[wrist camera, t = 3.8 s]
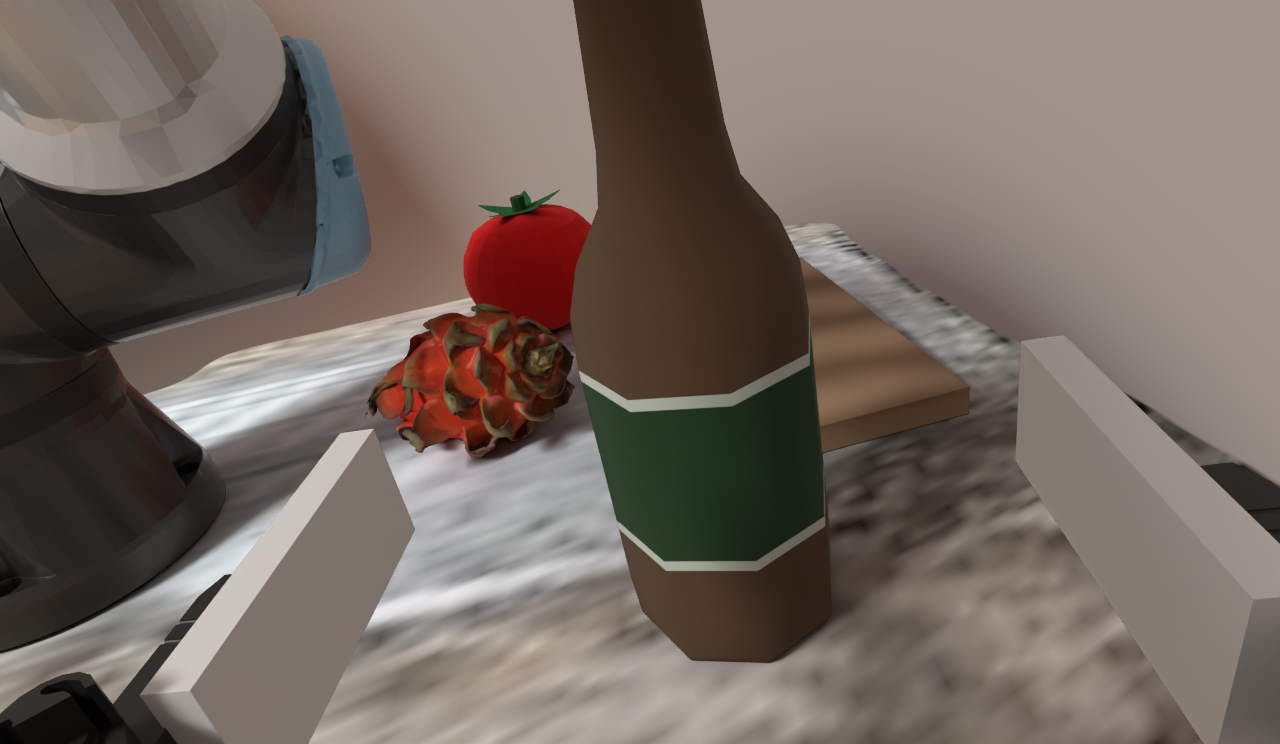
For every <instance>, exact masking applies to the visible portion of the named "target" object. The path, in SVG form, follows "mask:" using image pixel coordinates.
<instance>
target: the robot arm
mask: <svg viewBox="0 0 1280 744" xmlns="http://www.w3.org/2000/svg"><path fill="white" fill-rule="evenodd" d="M370 252H371V235H370V228H369V222H368V217H367V211H366V207H365V202H364V198H363V193H362V189H361V185H360V181H359V176H358V173H357V170H356V167H355V165H354V164H353V154H352V151H351V147H350V142H349V136H348V132H347V128H346V125H345V121H344V117H343V114H342V110H341V107H340V104H339V100H338V97H337V93H336V90H335V87H334V84H333V81H332V77H331V74H330V72H329V69H328V66H327V63H326V60H325V58H324V56H323V54H322V51H321V49H320V48H319V47H318V45H317V44H315V43H314V42H313V41H312V40H309V39H306V38H292V37H290V36H287V35H286V36H284V37H279V36H278V33H277V31H276V30H275V28H274V27H273V25H272V23H271V22H270V20H269V19H268V18H267V16H266V15H265V14H264V12H263V11H262V10H261V8H259V7H258V6H257V5H256V4H255V3H254V2H253V1H251V0H0V651H1V650H5V649H8V648H12V647H15V646H18V645H21V644H24V643H27V642H30V641H33V640H35V639H38V638H40V637H43V636H46V635H48V634H51V633H53V632H55V631H58V630H60V629H62V628H64V627H67V626H69V625H71V624H73V623H75V622H77V621H79V620H81V619H83V618H85V617H88V616H89V615H91V614H93V613H95V612H97V611H99V610H101V609H103V608H104V607H106V606H108V605H110V604H112V603H113V602H115V601H117V600H118V599H120V598H122V597H123V596H125V595H127V594H128V593H130V592H131V591H133V590H135V589H136V588H138V587H139V586H141V585H142V584H144V583H145V582H147V581H148V580H150V579H151V578H152V577H154V576H155V575H156V574H158V573H159V572H161V571H162V570H163V569H164V568H166V567H167V566H168V565H170V564H171V563H172V562H173V561H175V560H176V559H177V558H178V557H179V556H180V555H182V554H183V553H184V552H185V551H186V550H187V549H188V548H189V547H190V546H191V545H192V544H193V543H194V542H195V541H196V540H197V539H198V538H199V537H200V536H201V535H202V534H203V533H204V532H205V530H206V529H207V528H208V527H209V526H210V524H211V523H212V522H213V520H214V519H215V517H216V516H217V514H218V512H219V510H220V508H221V506H222V504H223V501H224V498H225V484H224V482H223V480H222V478H221V476H220V474H219V472H218V470H217V468H216V467H215V465H214V463H213V461H212V459H211V457H210V456H209V454H208V453H207V452H206V450H205V449H204V448H203V447H202V446H201V445H200V444H199V443H198V442H196V441H195V440H194V439H193V438H192V437H191V436H190V435H188V434H187V433H186V432H185V431H184V430H183V429H182V428H180V427H179V426H178V425H177V424H176V423H175V422H173V421H172V420H171V419H170V418H169V417H168V416H167V415H165V414H164V413H163V412H162V411H161V410H160V409H159V408H157V407H156V406H155V405H154V404H153V403H152V402H150V401H149V400H148V399H147V398H146V397H145V396H144V395H142V394H141V393H140V392H139V391H138V390H137V389H135V388H134V387H133V386H132V385H131V384H130V383H129V382H128V381H127V379H126V378H125V376H124V375H123V373H122V371H121V370H120V368H119V366H118V364H117V363H116V361H115V359H114V358H113V356H112V354H111V352H110V351H109V349H108V347H109V346H112V345H115V344H118V343H123V342H125V341H128V340H131V339H135V338H138V337H142V336H146V335H150V334H153V333H156V332H161V331H164V330H168V329H172V328H176V327H179V326H183V325H187V324H191V323H194V322H198V321H202V320H206V319H209V318H213V317H217V316H220V315H224V314H228V313H232V312H236V311H239V310H243V309H247V308H250V307H254V306H258V305H262V304H265V303H269V302H273V301H277V300H280V299H284V298H288V297H291V296H295V295H297V296H302V295H307V294H309V293H310V292H312V291H313V290H314V289H315V288H316V287H319V286H322V285H325V284H328V283H331V282H334V281H336V280H340V279H342V278H345V277H348V276H351V275H353V274H355V273H357V272H358V271H359V270H360V269H361V268H363V266H364V265H365V263H366V262H367V260H368V258H369V256H370ZM1015 461H1016V462H1017V464H1018V465H1019V467H1020V468H1021V470H1022V471H1023V473H1024V474H1025V476H1026V477H1027V479H1028V480H1029V482H1030V483H1031V485H1032V486H1033V488H1034V489H1035V491H1036V492H1037V494H1038V495H1039V497H1040V498H1041V500H1042V501H1043V503H1044V504H1045V506H1046V507H1047V509H1048V510H1049V512H1050V513H1051V515H1052V516H1053V518H1054V519H1055V521H1056V522H1057V524H1058V526H1059V527H1060V529H1061V530H1062V532H1063V533H1064V535H1065V536H1066V538H1067V539H1068V541H1069V542H1070V544H1071V545H1072V547H1073V548H1074V550H1075V551H1076V553H1077V554H1078V556H1079V557H1080V559H1081V560H1082V562H1083V563H1084V565H1085V566H1086V568H1087V569H1088V571H1089V572H1090V574H1091V575H1092V577H1093V578H1094V580H1095V581H1096V583H1097V584H1098V586H1099V587H1100V589H1101V590H1102V592H1103V593H1104V595H1105V596H1106V598H1107V599H1108V601H1109V602H1110V604H1111V605H1112V607H1113V608H1114V610H1115V611H1116V613H1117V614H1118V616H1119V617H1120V619H1121V620H1122V622H1123V623H1124V625H1125V626H1126V628H1127V629H1128V631H1129V632H1130V634H1131V635H1132V637H1133V638H1134V640H1135V641H1136V643H1137V644H1138V646H1139V647H1140V649H1141V650H1142V652H1143V653H1144V655H1145V656H1146V658H1147V659H1148V661H1149V662H1150V664H1151V665H1152V667H1153V668H1154V670H1155V671H1156V673H1157V674H1158V676H1159V677H1160V679H1161V680H1162V682H1163V683H1164V685H1165V686H1166V688H1167V689H1168V691H1169V692H1170V694H1171V695H1172V697H1173V698H1174V700H1175V701H1176V703H1177V704H1178V706H1179V707H1180V709H1181V710H1182V712H1183V713H1184V715H1185V716H1186V718H1187V719H1188V721H1189V722H1190V724H1191V725H1192V727H1193V728H1194V730H1195V731H1196V733H1197V734H1198V736H1199V737H1200V739H1201V740H1202V742H1203V743H1204V744H1280V489H1279V488H1278V487H1277V486H1275V485H1274V484H1273V483H1272V482H1271V481H1269V480H1267V479H1265V478H1263V477H1261V476H1259V475H1257V474H1255V473H1253V472H1251V471H1249V470H1247V469H1244V468H1242V467H1240V466H1238V465H1236V464H1234V463H1223V464H1214V465H1205V466H1199V465H1198V464H1197V463H1196V462H1195V461H1194V460H1193V459H1192V458H1191V457H1190V456H1189V455H1188V454H1187V453H1185V452H1184V451H1183V450H1182V449H1181V448H1180V447H1179V446H1178V445H1177V444H1176V443H1175V442H1174V441H1173V440H1172V439H1171V438H1170V437H1169V436H1168V435H1167V434H1166V433H1165V432H1164V431H1163V430H1162V429H1161V428H1160V427H1159V426H1158V425H1157V424H1156V423H1154V422H1153V421H1152V420H1151V419H1150V418H1149V417H1148V416H1147V415H1146V414H1145V413H1144V412H1143V411H1142V410H1141V409H1140V408H1139V407H1138V406H1137V405H1136V404H1135V403H1134V402H1133V401H1132V400H1131V399H1130V398H1129V397H1128V396H1127V395H1126V394H1125V393H1123V392H1122V391H1121V390H1120V389H1119V388H1118V387H1117V386H1116V385H1115V384H1114V383H1113V382H1112V381H1111V380H1110V379H1109V378H1108V377H1107V376H1106V375H1105V374H1104V373H1103V372H1102V371H1101V370H1100V369H1099V368H1097V366H1095V364H1094V363H1093V362H1091V361H1090V360H1089V359H1088V358H1087V357H1086V356H1085V355H1084V354H1083V353H1082V352H1081V351H1080V350H1079V349H1078V348H1077V347H1076V346H1075V345H1074V344H1073V343H1072V342H1071V341H1070V340H1069V339H1068V338H1066V337H1065V336H1064V335H1061V336H1053V337H1047V338H1039V339H1031V340H1024V341H1021V353H1020V374H1019V395H1018V416H1017V437H1016V458H1015ZM414 531H415V528H414V525H413V523H412V521H411V518H410V516H409V513H408V511H407V508H406V506H405V504H404V501H403V499H402V496H401V494H400V491H399V489H398V487H397V484H396V482H395V479H394V477H393V475H392V472H391V470H390V467H389V465H388V462H387V460H386V458H385V455H384V453H383V450H382V448H381V445H380V443H379V441H378V438H377V436H376V433H375V431H374V429H367V430H360V431H353V432H345V433H340V434H339V436H338V437H337V438H336V440H335V441H334V442H333V443H332V445H331V446H330V447H329V449H328V450H327V451H326V453H325V454H324V455H323V456H322V458H321V459H320V460H319V462H318V463H317V464H316V466H315V467H314V468H313V470H312V471H311V472H310V473H309V475H308V476H307V477H306V479H305V480H304V481H303V483H302V484H301V485H300V486H299V488H298V489H297V490H296V492H295V493H294V494H293V496H292V497H291V498H290V499H289V501H288V502H287V503H286V505H285V506H284V507H283V509H282V510H281V511H280V513H279V514H278V515H277V516H276V518H275V519H274V520H273V522H272V523H271V524H270V526H269V527H268V528H267V529H266V531H265V532H264V533H263V535H262V536H261V537H260V539H259V540H258V541H257V543H256V544H255V545H254V546H253V548H252V549H251V550H250V552H249V553H248V554H247V556H246V557H245V558H244V559H243V561H242V562H241V563H240V565H239V566H238V567H237V569H236V570H235V571H234V572H233V574H229V575H224V576H223V577H222V578H221V579H219V580H218V581H217V582H216V583H214V584H213V585H212V586H211V587H210V588H208V589H207V590H206V591H205V592H204V593H202V594H201V595H200V596H199V597H198V598H197V599H196V600H195V602H194V603H193V604H192V605H191V607H190V608H189V609H188V610H187V612H186V613H185V614H184V615H183V617H182V618H181V619H180V624H179V625H176V626H175V627H174V628H173V629H172V631H171V632H170V633H169V634H168V636H167V637H166V638H165V639H164V640H165V643H164V644H162V645H160V646H159V647H158V648H157V649H156V651H155V652H154V653H153V654H152V656H151V657H150V658H149V660H148V661H147V662H146V663H145V665H144V666H143V667H142V668H141V670H140V671H139V672H138V673H137V675H136V676H135V677H134V678H133V680H132V681H131V682H130V683H129V685H128V686H127V687H126V689H125V690H124V691H123V692H122V694H121V695H120V696H119V697H118V699H117V700H116V701H115V702H114V704H112V703H111V702H110V700H109V699H108V698H107V696H106V695H105V693H104V692H103V691H102V689H101V688H100V687H99V685H98V684H97V683H96V681H95V680H94V679H93V677H92V676H91V675H90V674H85V673H81V672H76V673H71V674H65V675H61V676H59V677H56V678H54V679H51V680H49V681H47V682H44V683H42V684H40V685H38V686H37V687H35V688H34V689H32V690H30V691H29V692H27V693H25V694H24V695H22V696H21V697H19V698H18V699H17V700H16V701H15V702H13V703H12V704H11V705H10V706H9V707H7V708H6V709H5V710H4V711H3V712H2V713H1V714H0V744H308V743H309V741H310V739H311V737H312V735H313V733H314V731H315V729H316V727H317V725H318V723H319V721H320V719H321V717H322V715H323V713H324V711H325V709H326V707H327V705H328V703H329V701H330V699H331V697H332V695H333V693H334V691H335V689H336V687H337V685H338V683H339V681H340V679H341V677H342V675H343V673H344V671H345V669H346V667H347V665H348V663H349V661H350V659H351V657H352V655H353V653H354V651H355V649H356V647H357V645H358V643H359V641H360V639H361V637H362V635H363V633H364V631H365V629H366V627H367V625H368V623H369V621H370V619H371V617H372V615H373V613H374V611H375V609H376V607H377V605H378V603H379V601H380V599H381V597H382V595H383V593H384V591H385V589H386V587H387V585H388V583H389V581H390V579H391V577H392V575H393V573H394V571H395V569H396V567H397V565H398V563H399V561H400V559H401V557H402V555H403V553H404V551H405V549H406V547H407V545H408V543H409V541H410V539H411V537H412V535H413V533H414Z"/></svg>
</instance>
